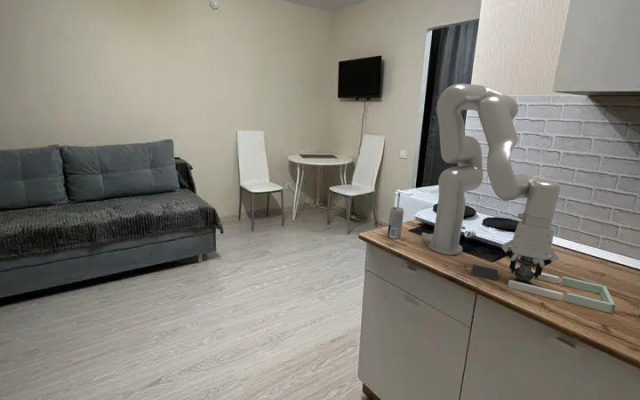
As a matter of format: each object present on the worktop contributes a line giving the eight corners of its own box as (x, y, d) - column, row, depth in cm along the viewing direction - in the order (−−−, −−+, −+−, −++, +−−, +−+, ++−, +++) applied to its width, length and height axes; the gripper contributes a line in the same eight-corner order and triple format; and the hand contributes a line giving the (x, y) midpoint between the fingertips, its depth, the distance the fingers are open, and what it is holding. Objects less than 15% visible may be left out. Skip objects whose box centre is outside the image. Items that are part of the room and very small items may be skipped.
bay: (565, 301, 100) (567, 294, 100) (560, 283, 111) (562, 276, 110) (612, 313, 95) (615, 305, 95) (603, 293, 106) (605, 286, 105)
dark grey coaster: (470, 274, 114) (470, 273, 114) (472, 264, 120) (473, 264, 120) (497, 281, 110) (497, 280, 110) (498, 270, 117) (498, 270, 117)
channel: (507, 287, 107) (509, 281, 106) (508, 270, 117) (509, 265, 117) (561, 300, 101) (563, 294, 100) (557, 282, 111) (558, 276, 111)
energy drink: (393, 233, 145) (396, 206, 142) (403, 237, 142) (406, 209, 138) (384, 235, 142) (387, 208, 139) (395, 240, 138) (398, 211, 135)
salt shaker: (522, 287, 107) (530, 252, 103) (507, 278, 112) (515, 244, 109) (537, 285, 108) (545, 250, 105) (521, 276, 114) (529, 243, 110)
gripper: (504, 218, 105) (493, 271, 110) (573, 230, 97) (557, 287, 102) (505, 211, 111) (494, 262, 117) (569, 222, 104) (554, 276, 109)
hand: (524, 273), depth 109 cm, fingers closed on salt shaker, 5 cm apart
